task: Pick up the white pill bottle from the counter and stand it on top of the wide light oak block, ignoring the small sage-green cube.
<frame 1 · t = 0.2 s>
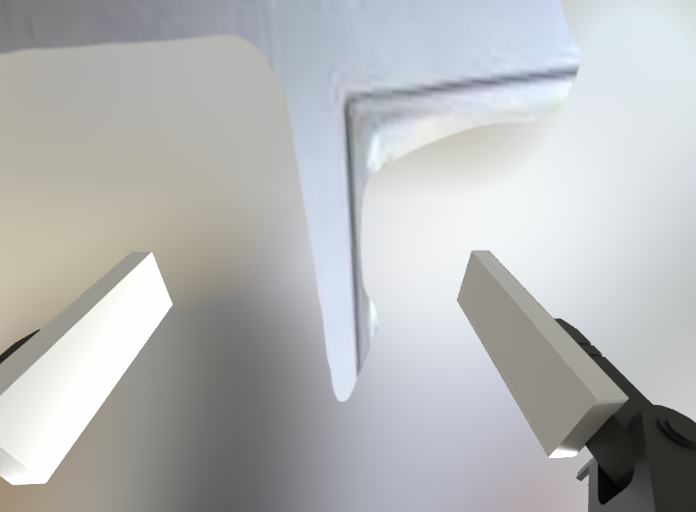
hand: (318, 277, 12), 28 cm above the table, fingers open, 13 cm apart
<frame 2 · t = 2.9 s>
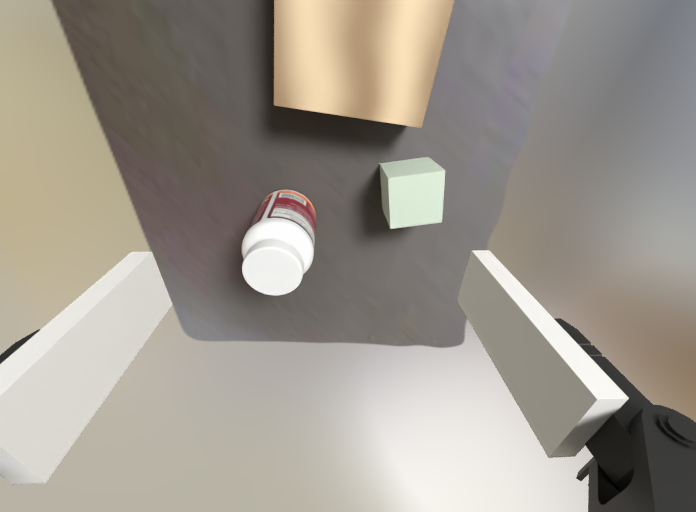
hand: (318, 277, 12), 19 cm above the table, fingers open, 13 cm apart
oak block: (357, 29, 23), on the table
sage cube: (404, 183, 30), on the table
pill bottle: (289, 214, 31), on the table
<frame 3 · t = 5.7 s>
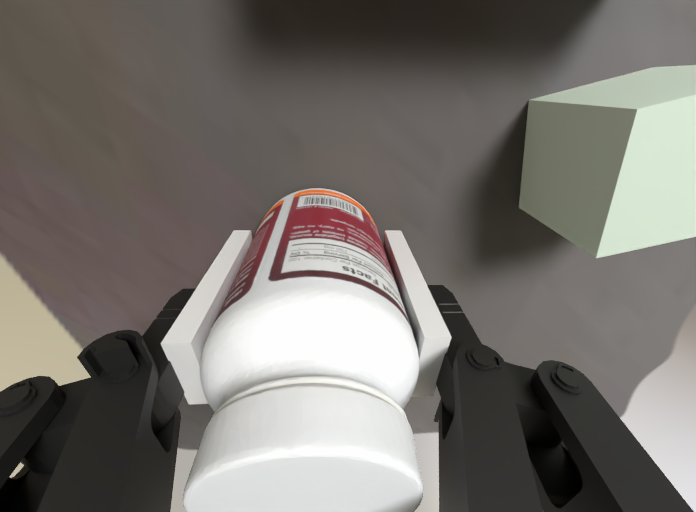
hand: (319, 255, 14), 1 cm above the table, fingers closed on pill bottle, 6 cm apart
sage cube: (577, 145, 13), on the table
pill bottle: (320, 239, 15), on the table, touching gripper
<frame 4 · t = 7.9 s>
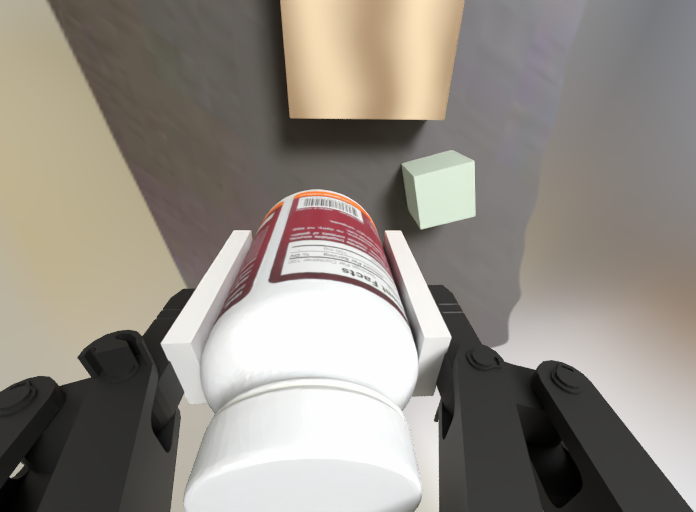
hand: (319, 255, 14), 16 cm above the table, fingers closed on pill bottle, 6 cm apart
oak block: (366, 29, 22), on the table
sage cube: (428, 181, 29), on the table
pill bottle: (320, 240, 15), point 15 cm above the table, touching gripper
when the fingers open (6 cm above the table, at t = 10.5 s): pill bottle stays where it is, resting on oak block.
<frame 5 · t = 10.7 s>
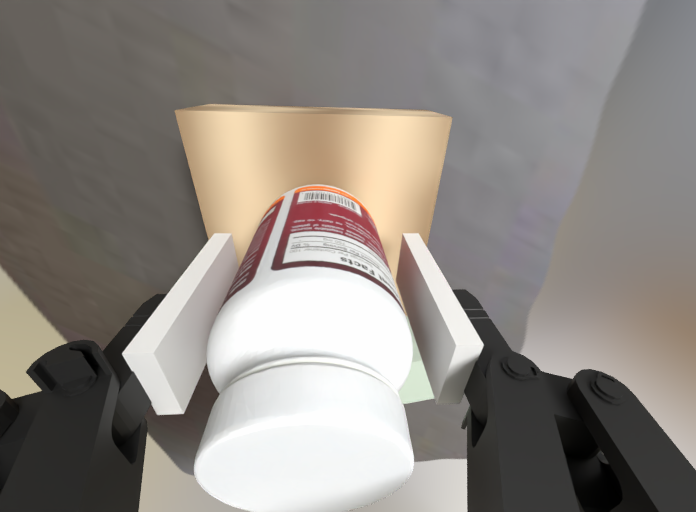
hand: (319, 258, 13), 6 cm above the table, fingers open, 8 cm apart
oak block: (322, 208, 19), on the table
sage cube: (402, 332, 26), on the table
pill bottle: (320, 234, 15), point 4 cm above the table, touching oak block
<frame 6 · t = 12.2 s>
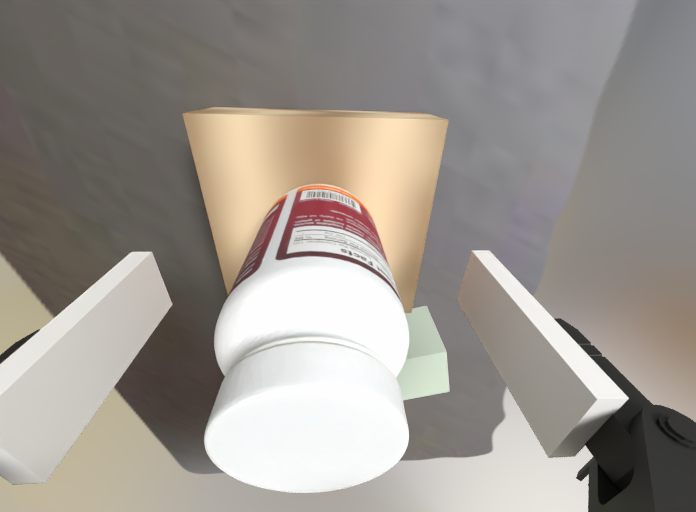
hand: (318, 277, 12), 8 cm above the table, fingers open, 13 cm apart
oak block: (323, 208, 19), on the table
sage cube: (401, 330, 26), on the table
pill bottle: (321, 233, 16), point 4 cm above the table, touching oak block
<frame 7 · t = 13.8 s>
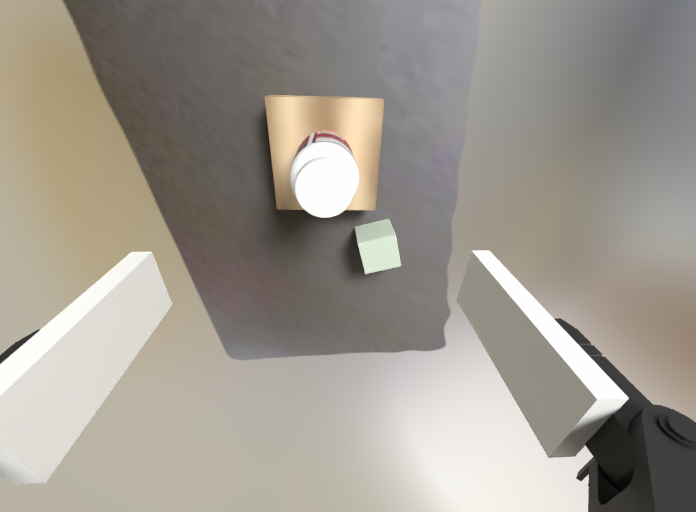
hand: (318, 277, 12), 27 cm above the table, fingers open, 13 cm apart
oak block: (326, 152, 35), on the table
sage cube: (374, 237, 42), on the table
pill bottle: (325, 158, 32), point 4 cm above the table, touching oak block
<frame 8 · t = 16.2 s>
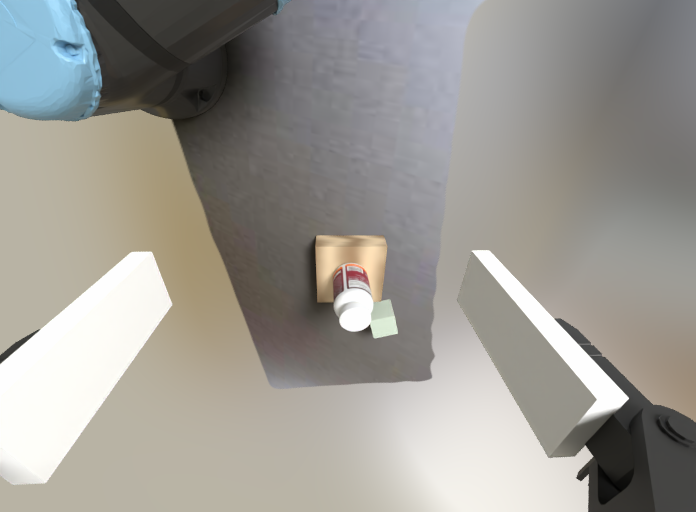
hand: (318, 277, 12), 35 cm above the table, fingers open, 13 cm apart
oak block: (349, 263, 53), on the table
sage cube: (380, 310, 60), on the table
pill bottle: (350, 275, 50), point 4 cm above the table, touching oak block
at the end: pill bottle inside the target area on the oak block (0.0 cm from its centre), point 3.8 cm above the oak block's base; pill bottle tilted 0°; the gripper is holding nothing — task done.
